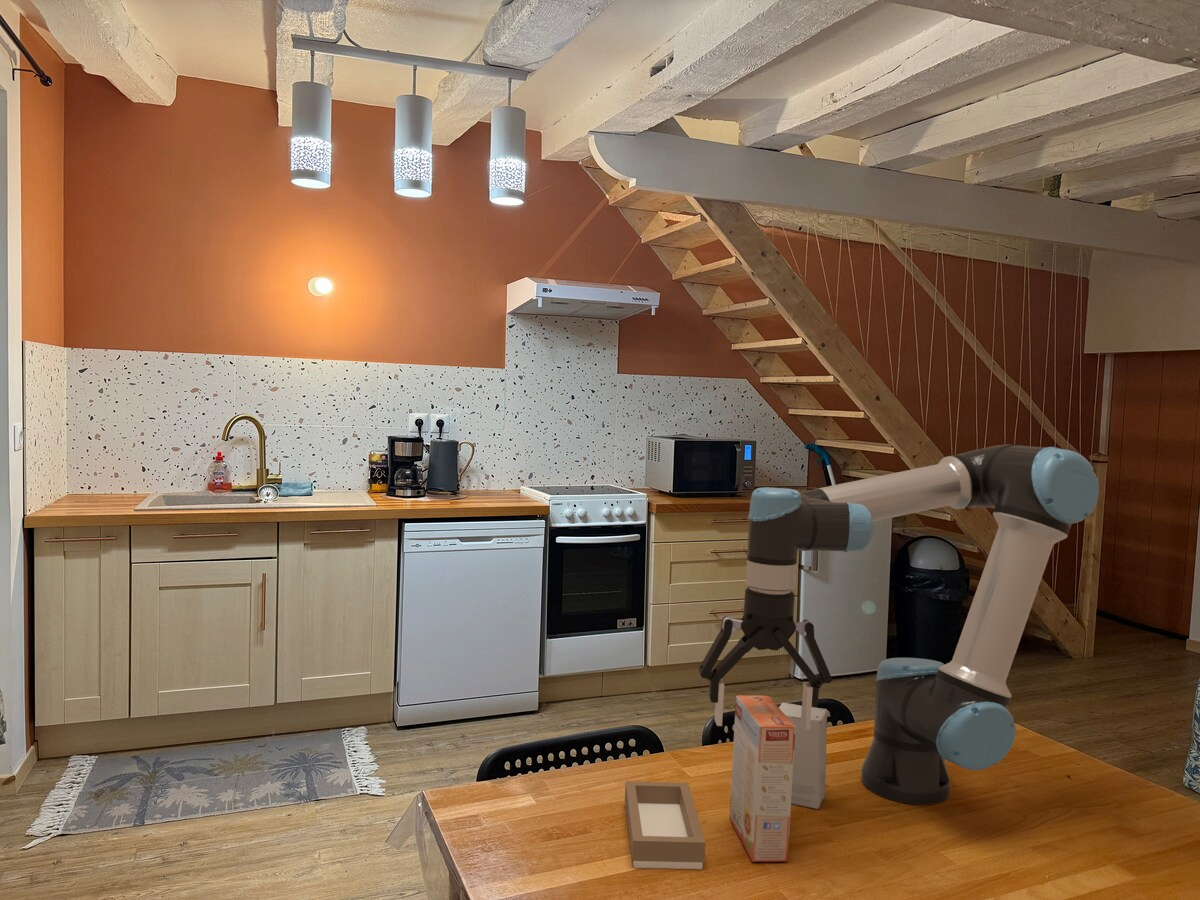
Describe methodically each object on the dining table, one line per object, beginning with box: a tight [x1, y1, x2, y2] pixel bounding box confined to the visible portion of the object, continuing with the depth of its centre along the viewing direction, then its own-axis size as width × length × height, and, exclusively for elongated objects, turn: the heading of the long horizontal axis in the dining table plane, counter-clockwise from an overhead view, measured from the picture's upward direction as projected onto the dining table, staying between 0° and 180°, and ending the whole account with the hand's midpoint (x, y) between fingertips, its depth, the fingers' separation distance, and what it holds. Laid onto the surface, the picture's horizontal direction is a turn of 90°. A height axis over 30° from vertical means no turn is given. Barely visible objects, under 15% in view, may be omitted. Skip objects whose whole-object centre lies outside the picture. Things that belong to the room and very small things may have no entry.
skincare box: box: [778, 702, 828, 810], centre depth 152 cm, size 8×7×16 cm
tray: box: [624, 780, 706, 870], centre depth 138 cm, size 10×20×4 cm, turn 2°
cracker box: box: [729, 694, 796, 863], centre depth 137 cm, size 14×6×21 cm, turn 5°
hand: (761, 724), depth 137 cm, fingers open, 13 cm apart
